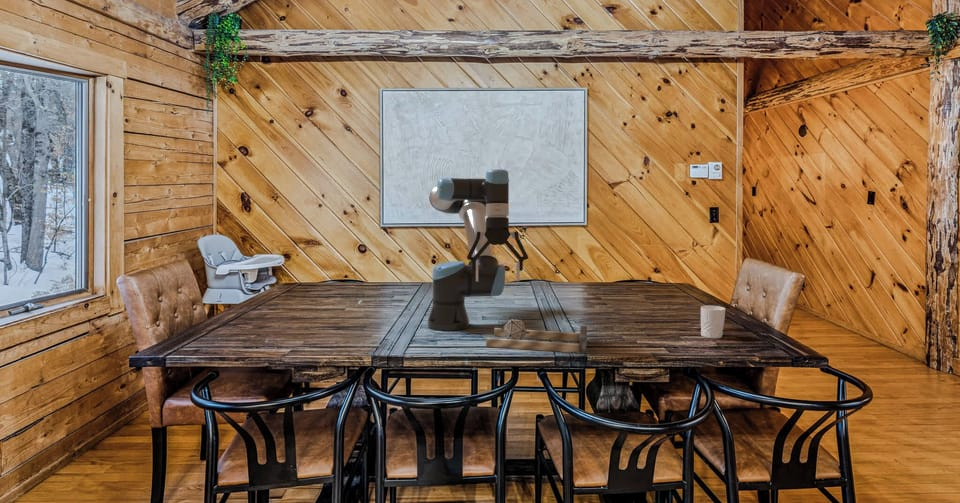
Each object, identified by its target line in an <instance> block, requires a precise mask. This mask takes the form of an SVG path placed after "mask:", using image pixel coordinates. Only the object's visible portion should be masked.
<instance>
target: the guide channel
mask: <svg viewBox="0 0 960 503" xmlns="http://www.w3.org/2000/svg"><path fill="white" fill-rule="evenodd" d="M526 330H527V332H529V334H528V333H527V334H526V335H525V336H524V337H523V339H522V340H514V339H507V338H506V336H505V333H504V331H503V329H501V327H494V332H493V336H494V337H495V338H494V337H486V341H485V342H486V345H485V346H486V348H500V349H501V348H503V349H515V350H517V349H518V350H530V351H542V352H543V351H545V352H556V351H561V352H560V353H571V352H580V353H579V354H586V353H587V352H586V351H587V342H588V325H580V329H579V330H580V332H567V331H566V332H565V331H552V330H551V331H549V330H534V329H532V330H531V329H526ZM497 337H499V338H497ZM500 337H501V338H500ZM502 337H505V338H502ZM527 339H533V340H527ZM534 339H535V340H534ZM543 340H544V341H543ZM545 340H549V341H545ZM556 341H558V342H556ZM560 341H564V342H560ZM565 341H567V342H565ZM577 341H579V342H578V343H572V342H577Z"/></svg>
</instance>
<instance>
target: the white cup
mask: <svg viewBox="0 0 960 503" xmlns="http://www.w3.org/2000/svg"><path fill="white" fill-rule="evenodd" d="M725 315H726V308H725V307H723V306H719V305H707V304H706V305H701V306H700V328H701V329H700V335H701V336H702V337H705V338H709V339H721V338H722V337H723V330H724V326H725V325H724V324H725V319H726V318H725V317H726V316H725Z"/></svg>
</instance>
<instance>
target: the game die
mask: <svg viewBox="0 0 960 503" xmlns="http://www.w3.org/2000/svg"><path fill="white" fill-rule="evenodd" d="M508 319H509V320H508V321H507V322H506V324H504V326H501V327H500V328H501V329H503V331H504V333H505V336H506V337H505V339H514V340H524V338H523V337H524V336H525V335H526V334H527V333H528V334H529V332H527V330H528V329H527V328H526V325H525V318H522V319H512V317H511V316H509V318H508Z"/></svg>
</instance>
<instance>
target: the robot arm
mask: <svg viewBox="0 0 960 503" xmlns="http://www.w3.org/2000/svg"><path fill="white" fill-rule="evenodd" d="M509 183H510V179H509V172H508V170H506V169H496V168H495V169H488V170H486V172H485V178H456V177H455V178H453V177H452V178H451V177H442V178H439V179H438V180H437V183H436V187H434V188H433V189H432V190H431V192H430V194H429V196H428V198H429V202H430V205H431V206H432V208H434V209H435V210H437V211H438V212H441V213H444V214H452V215H453V214H454V215H455V214H458V216H459V218H460V219H461V220H462V221H463V223H464V230H465V235H466V240H467V241H466V242H467V246H468V254H467V255H466V259H467V260H468V261H469V262H468V263H467V264H466V263H465V261H463V260H462V261H461V260H453V261H447V262H446V261H445V262H442V263H438V264H436V265H435V266H434V267H433V269H432V276H431V280H432V306H431V309H430V312H429V315H428V319H427V327H428V328H429V329H433V330H437V331H459V330H460V331H461V330H464V329H468V328H469V327H470V319H469V315H468V312H467V309H466V306H465V304H466V303H465V299H466V298H483V297H489V298H492V297H499V296H501V295H502V294H503V292H504V288H505V285H506V284H505V283H506V267H505V265H504V264H501V263H499V260H498V258H496V257H495V256H493V252H492V246H496V245H499V246H504V245H505V246H507V248H508V249H509V251H511V253H512V254H513V255H514V256H515V257H516V258H517V259H518V260H517V261H516V282H520V272H522V271H523V269H524V267H523V266H524V261H526V260H528V259H529V256H528V253H527V250H525V247H524V246H523V243H522V242H521V240H520V237H519V236H520V235H519V232H518V231H517V230H515V231H512V232H510V225H509V224H510V223H509V222H510V221H509V217H508V216H509V213H510V210H509V207H510V206H509V198H510V195H509V192H510V190H509V189H510V188H509V185H510V184H509ZM510 237H511V238H513V239H514V240H515V242H516V244H517V246H518V248H519V251H520V252H521V254H522V256H521V255H520V254H519V252H518V251H517V250H516V248H515V247H513V245H512V244H511V242H510V241H509V240H508V239H509V238H510ZM491 245H492V246H491Z"/></svg>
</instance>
